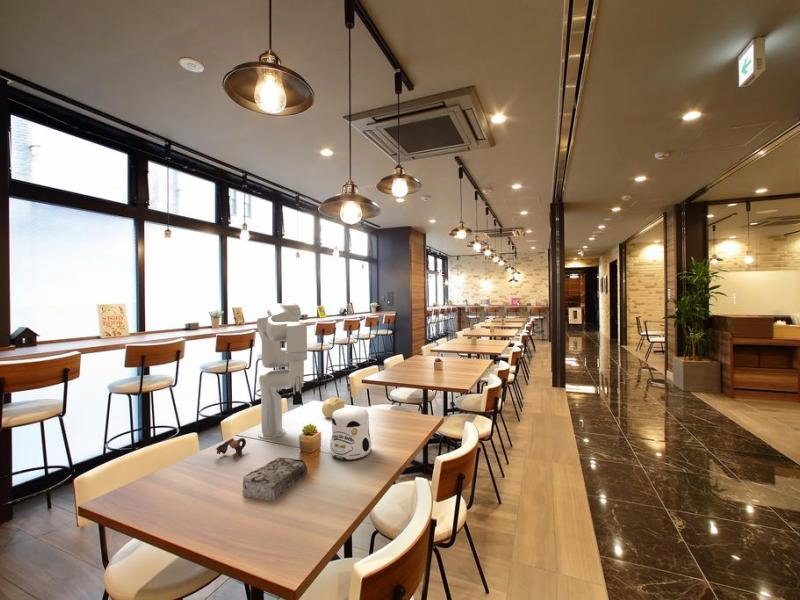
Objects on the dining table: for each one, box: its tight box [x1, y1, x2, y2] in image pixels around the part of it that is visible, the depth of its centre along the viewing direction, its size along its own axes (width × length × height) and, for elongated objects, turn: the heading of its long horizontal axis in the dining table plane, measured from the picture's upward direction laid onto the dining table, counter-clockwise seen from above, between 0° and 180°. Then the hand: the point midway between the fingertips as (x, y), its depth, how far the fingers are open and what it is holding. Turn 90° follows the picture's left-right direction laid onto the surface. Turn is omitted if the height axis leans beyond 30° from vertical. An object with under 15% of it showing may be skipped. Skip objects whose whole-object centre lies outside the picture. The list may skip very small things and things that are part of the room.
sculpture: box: [321, 396, 346, 419], centre depth 197 cm, size 11×12×11 cm
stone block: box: [241, 456, 308, 501], centre depth 124 cm, size 13×7×20 cm
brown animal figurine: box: [215, 437, 247, 460], centre depth 149 cm, size 12×9×8 cm
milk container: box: [329, 406, 372, 462], centre depth 148 cm, size 17×17×18 cm
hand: (297, 404), depth 133 cm, fingers closed
